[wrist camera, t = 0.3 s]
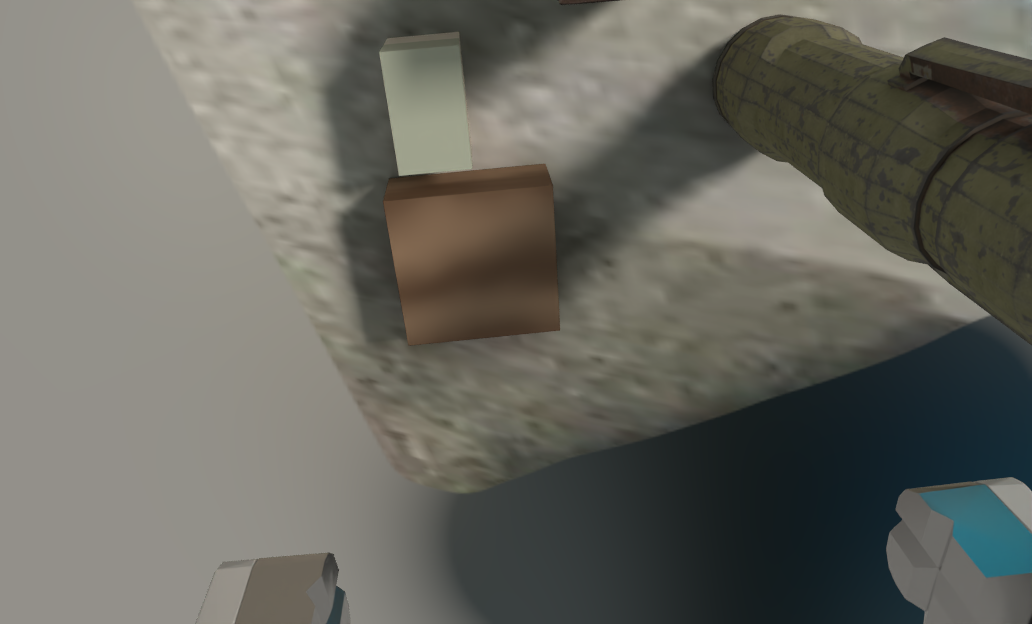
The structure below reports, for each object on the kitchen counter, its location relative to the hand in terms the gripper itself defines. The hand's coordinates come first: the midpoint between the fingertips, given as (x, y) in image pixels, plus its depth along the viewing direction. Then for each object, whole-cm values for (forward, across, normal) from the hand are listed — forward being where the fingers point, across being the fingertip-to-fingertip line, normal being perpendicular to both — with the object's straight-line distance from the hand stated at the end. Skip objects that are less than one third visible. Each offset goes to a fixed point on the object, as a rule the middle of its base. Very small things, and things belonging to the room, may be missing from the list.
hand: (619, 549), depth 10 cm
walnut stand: (+46, +3, +15) cm, 48 cm away
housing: (+46, +5, +3) cm, 46 cm away
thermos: (+46, -20, +4) cm, 50 cm away
